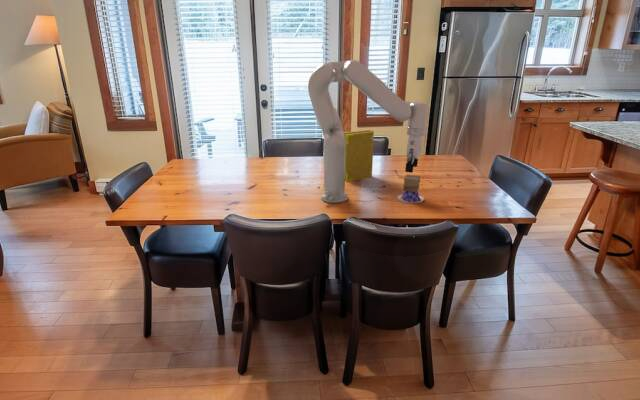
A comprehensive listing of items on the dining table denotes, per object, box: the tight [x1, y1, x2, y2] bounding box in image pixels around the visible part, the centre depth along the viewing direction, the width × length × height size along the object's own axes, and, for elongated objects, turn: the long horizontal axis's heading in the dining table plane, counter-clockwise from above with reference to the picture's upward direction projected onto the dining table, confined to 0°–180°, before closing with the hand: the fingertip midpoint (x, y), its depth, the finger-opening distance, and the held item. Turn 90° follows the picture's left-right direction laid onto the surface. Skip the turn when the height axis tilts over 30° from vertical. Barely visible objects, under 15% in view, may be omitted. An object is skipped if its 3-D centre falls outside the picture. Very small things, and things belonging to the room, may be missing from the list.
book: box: [344, 129, 375, 182], centre depth 198 cm, size 17×7×25 cm, turn 112°
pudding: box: [397, 190, 425, 204], centre depth 172 cm, size 12×12×5 cm
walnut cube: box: [402, 173, 421, 192], centre depth 170 cm, size 6×6×6 cm
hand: (411, 169), depth 168 cm, fingers open, 9 cm apart
